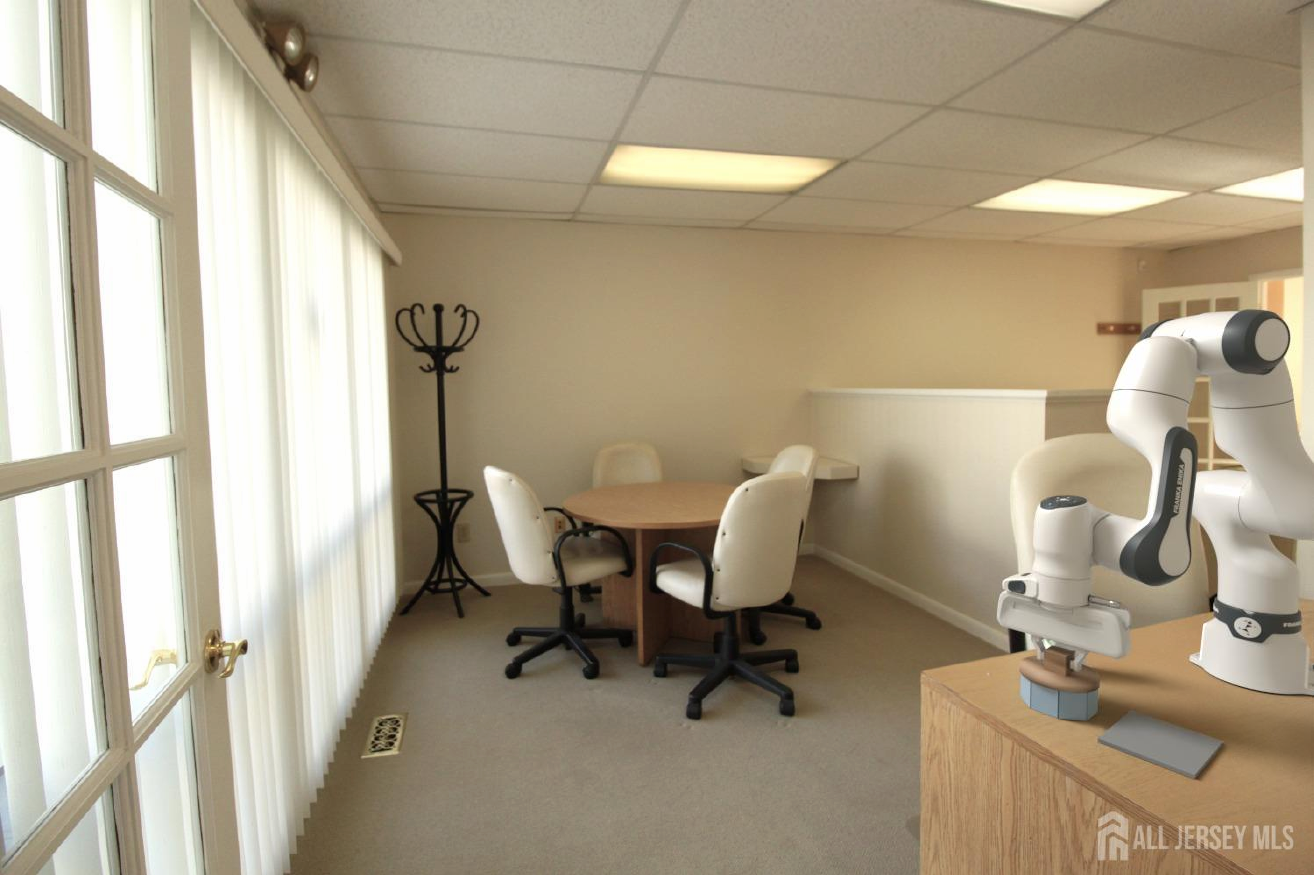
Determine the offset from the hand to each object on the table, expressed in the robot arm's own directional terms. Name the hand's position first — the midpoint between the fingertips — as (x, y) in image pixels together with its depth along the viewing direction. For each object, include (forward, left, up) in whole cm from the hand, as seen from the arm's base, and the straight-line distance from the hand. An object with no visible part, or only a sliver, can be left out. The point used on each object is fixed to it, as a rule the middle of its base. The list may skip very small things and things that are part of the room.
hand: (1058, 665), depth 111 cm
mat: (+1, +15, -7) cm, 17 cm away
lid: (0, 0, -2) cm, 2 cm away
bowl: (0, 0, -7) cm, 7 cm away
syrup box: (-15, -5, -7) cm, 17 cm away
